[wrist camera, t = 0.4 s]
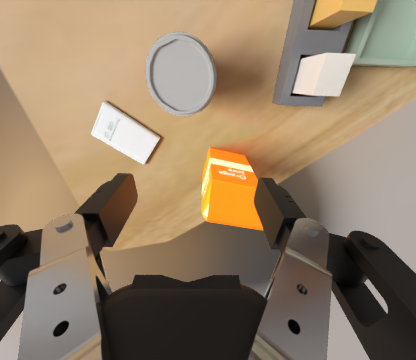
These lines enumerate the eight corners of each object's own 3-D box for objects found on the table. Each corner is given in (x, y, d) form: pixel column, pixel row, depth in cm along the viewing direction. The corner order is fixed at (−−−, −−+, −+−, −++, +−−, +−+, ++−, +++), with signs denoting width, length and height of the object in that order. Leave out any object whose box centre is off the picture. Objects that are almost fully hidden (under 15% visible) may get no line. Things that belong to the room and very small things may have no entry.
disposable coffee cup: (217, 53, 29) (224, 38, 19) (208, 110, 34) (210, 123, 24) (163, 42, 28) (140, 20, 18) (162, 102, 33) (143, 111, 23)
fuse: (291, 61, 30) (326, 52, 21) (312, 61, 30) (356, 53, 21) (284, 92, 32) (312, 95, 24) (303, 92, 33) (339, 96, 24)
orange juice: (209, 146, 38) (213, 200, 21) (244, 154, 39) (275, 211, 22) (202, 175, 42) (200, 239, 25) (234, 181, 43) (254, 247, 26)
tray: (382, -52, 23) (404, -68, 21) (459, -47, 24) (490, -62, 21) (339, 65, 30) (352, 63, 28) (399, 67, 31) (417, 66, 28)
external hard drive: (145, 162, 41) (94, 132, 36) (161, 136, 37) (106, 100, 33) (143, 165, 39) (89, 134, 35) (159, 138, 36) (102, 101, 32)
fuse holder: (324, -146, 19) (350, -195, 16) (389, -141, 20) (428, -188, 16) (271, 102, 33) (279, 105, 30) (310, 103, 34) (322, 106, 30)
